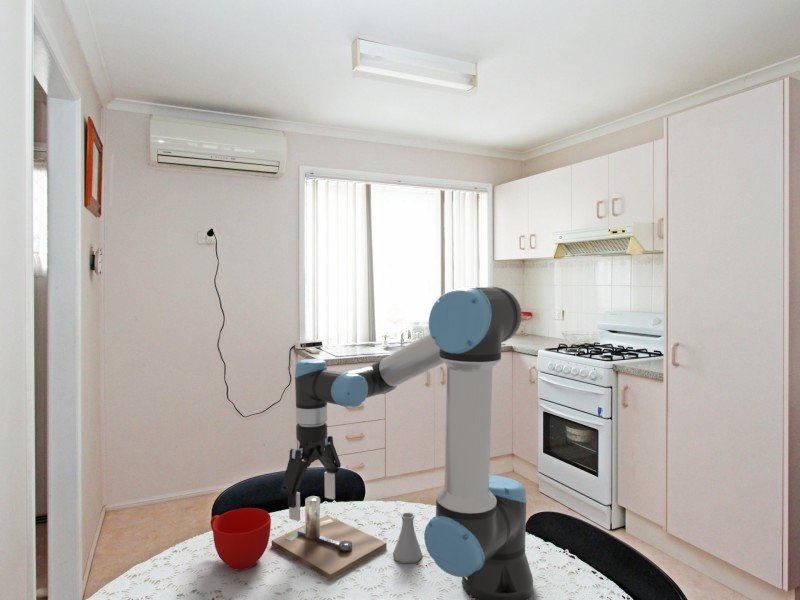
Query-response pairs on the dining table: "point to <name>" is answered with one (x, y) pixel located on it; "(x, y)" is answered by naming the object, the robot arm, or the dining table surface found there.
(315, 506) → the metal crank handle
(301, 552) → the board
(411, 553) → the flask
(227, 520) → the ceramic cup
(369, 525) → the dining table surface
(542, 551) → the dining table surface
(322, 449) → the robot arm
